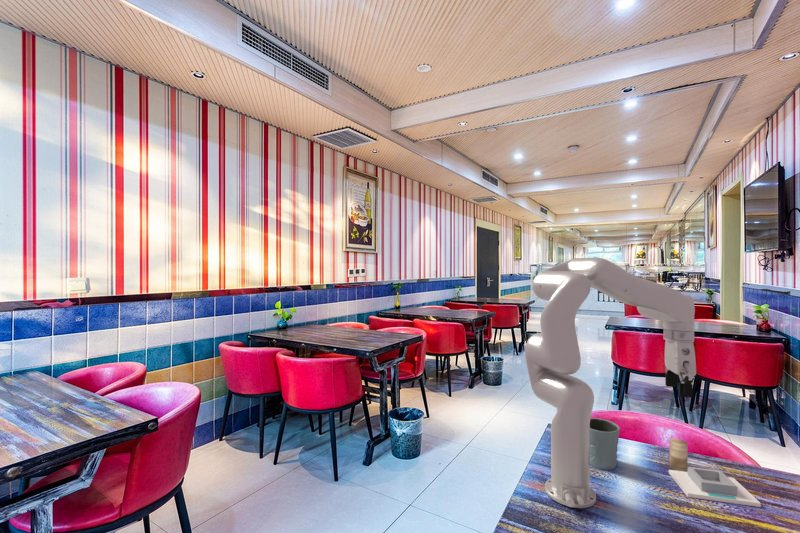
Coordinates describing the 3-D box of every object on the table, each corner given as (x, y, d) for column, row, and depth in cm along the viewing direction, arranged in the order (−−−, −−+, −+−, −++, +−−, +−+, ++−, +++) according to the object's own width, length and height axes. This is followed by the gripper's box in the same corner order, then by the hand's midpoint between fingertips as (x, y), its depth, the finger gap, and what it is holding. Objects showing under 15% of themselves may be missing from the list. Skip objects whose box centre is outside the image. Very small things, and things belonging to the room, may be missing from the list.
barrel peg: (690, 472, 112) (690, 446, 112) (673, 470, 113) (673, 444, 113) (683, 465, 116) (683, 439, 116) (667, 463, 117) (667, 437, 117)
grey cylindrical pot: (612, 456, 122) (612, 419, 122) (625, 473, 112) (625, 432, 112) (578, 453, 124) (578, 416, 124) (588, 469, 114) (588, 430, 114)
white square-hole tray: (760, 507, 96) (760, 493, 96) (687, 496, 100) (687, 483, 100) (733, 481, 108) (733, 468, 108) (668, 472, 112) (668, 461, 112)
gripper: (707, 341, 105) (707, 402, 105) (680, 330, 122) (679, 383, 122) (676, 340, 107) (676, 400, 107) (653, 329, 124) (653, 381, 124)
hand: (678, 391), depth 115 cm, fingers open, 9 cm apart
